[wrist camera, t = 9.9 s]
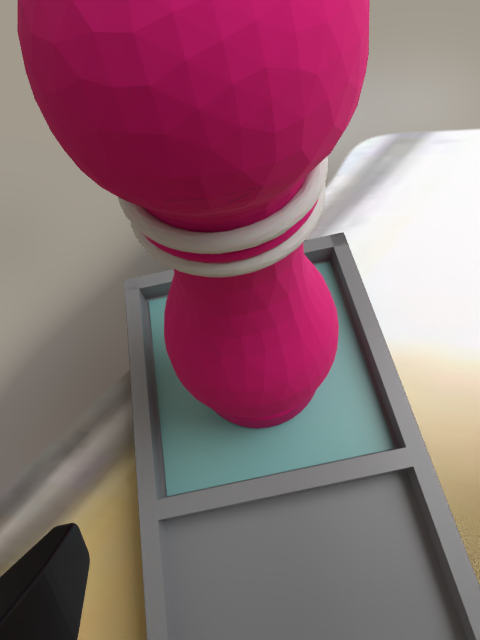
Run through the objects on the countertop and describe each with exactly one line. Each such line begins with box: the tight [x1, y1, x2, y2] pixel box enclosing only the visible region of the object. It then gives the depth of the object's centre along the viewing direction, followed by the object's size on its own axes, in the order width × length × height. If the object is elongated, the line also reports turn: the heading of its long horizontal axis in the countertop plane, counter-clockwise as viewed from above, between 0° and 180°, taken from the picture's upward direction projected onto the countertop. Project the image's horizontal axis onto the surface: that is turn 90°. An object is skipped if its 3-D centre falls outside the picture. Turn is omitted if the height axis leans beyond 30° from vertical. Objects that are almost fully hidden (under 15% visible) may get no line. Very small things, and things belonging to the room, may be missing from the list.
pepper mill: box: [18, 0, 369, 428], centre depth 13 cm, size 7×7×20 cm
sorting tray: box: [124, 232, 480, 640], centre depth 19 cm, size 24×13×2 cm, turn 11°
